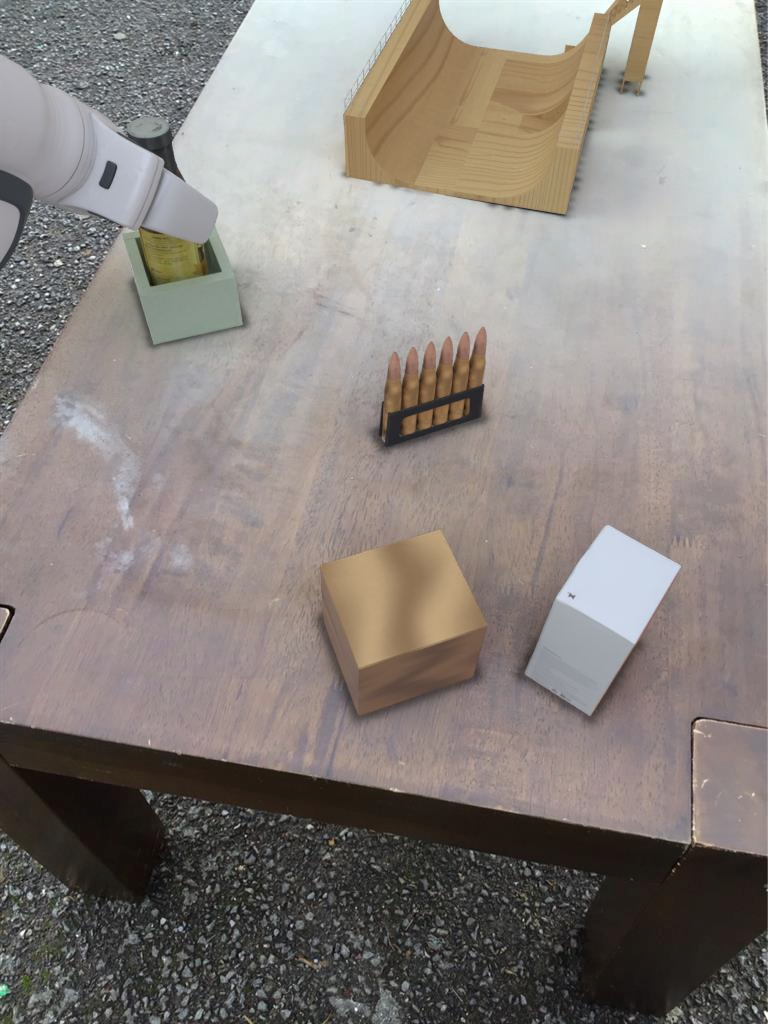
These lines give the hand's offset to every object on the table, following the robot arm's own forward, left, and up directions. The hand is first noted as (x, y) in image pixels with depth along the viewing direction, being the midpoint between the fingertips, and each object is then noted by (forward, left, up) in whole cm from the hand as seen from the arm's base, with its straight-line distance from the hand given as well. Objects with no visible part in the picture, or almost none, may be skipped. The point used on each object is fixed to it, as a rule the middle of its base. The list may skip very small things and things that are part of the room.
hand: (170, 205), depth 82 cm
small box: (+21, -54, -13) cm, 59 cm away
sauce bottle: (-1, 0, -12) cm, 12 cm away
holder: (0, 0, -13) cm, 13 cm away
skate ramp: (+51, +24, -13) cm, 57 cm away
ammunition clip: (+19, -26, -13) cm, 35 cm away
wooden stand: (+7, -48, -13) cm, 50 cm away
